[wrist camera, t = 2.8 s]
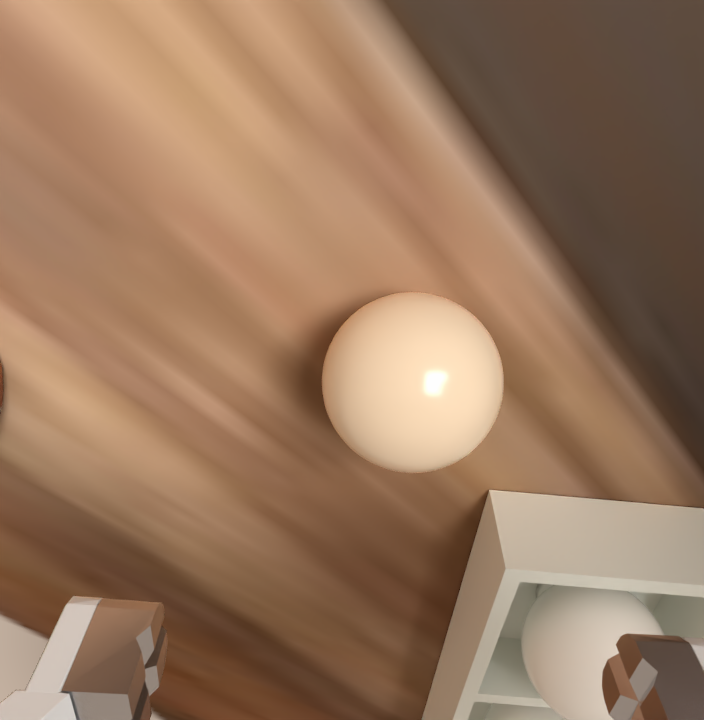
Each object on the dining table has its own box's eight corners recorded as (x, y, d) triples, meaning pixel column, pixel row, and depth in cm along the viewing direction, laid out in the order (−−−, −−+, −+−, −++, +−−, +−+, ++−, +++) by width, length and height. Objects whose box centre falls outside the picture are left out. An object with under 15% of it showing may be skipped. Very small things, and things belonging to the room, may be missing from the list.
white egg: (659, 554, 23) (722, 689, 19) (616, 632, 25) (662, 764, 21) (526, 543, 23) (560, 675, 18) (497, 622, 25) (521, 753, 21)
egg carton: (707, 508, 23) (755, 590, 20) (544, 785, 36) (559, 859, 33) (489, 489, 23) (506, 568, 20) (405, 774, 35) (407, 847, 33)
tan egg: (504, 270, 18) (544, 366, 13) (471, 405, 20) (495, 520, 16) (333, 254, 18) (319, 345, 13) (323, 392, 20) (309, 504, 16)
